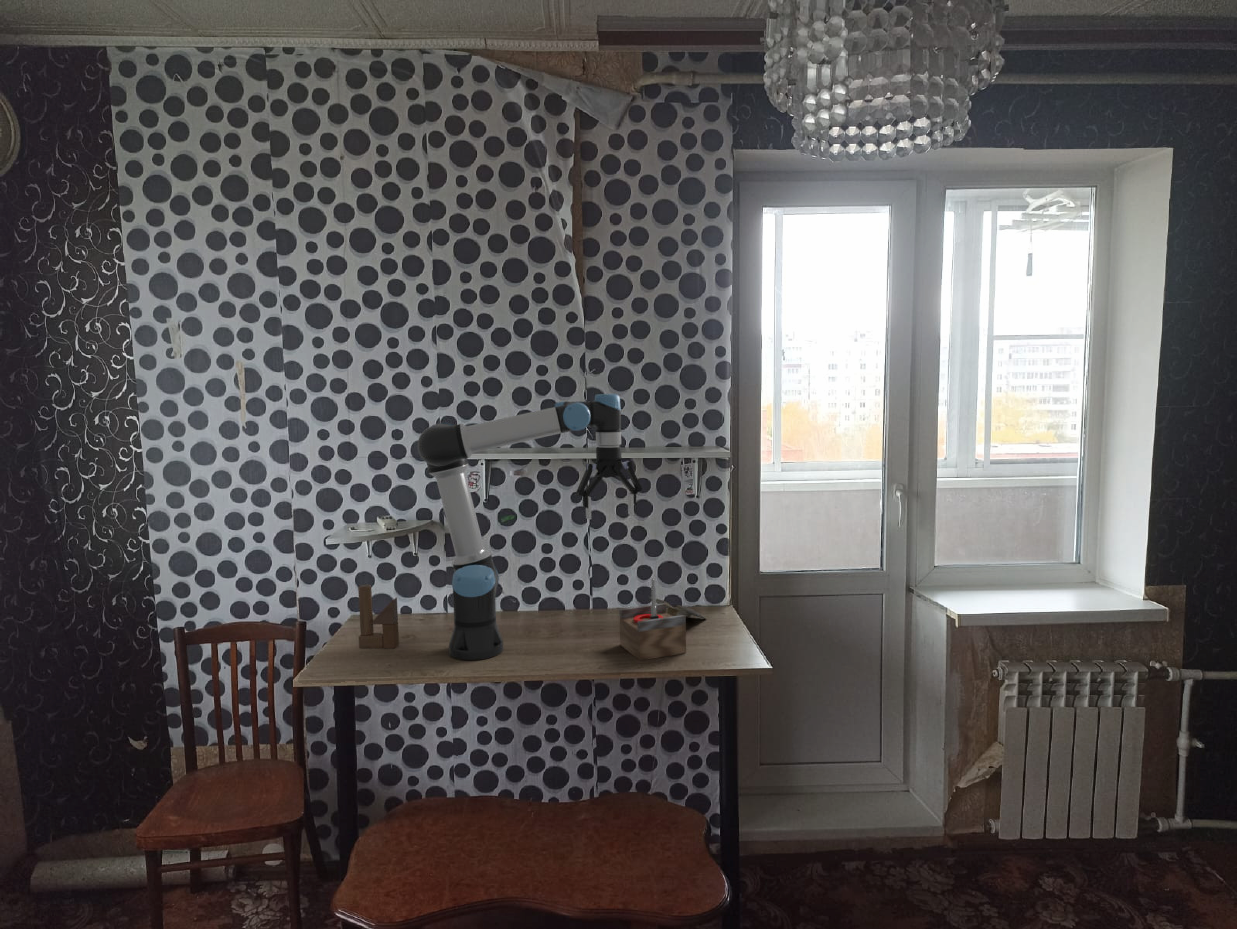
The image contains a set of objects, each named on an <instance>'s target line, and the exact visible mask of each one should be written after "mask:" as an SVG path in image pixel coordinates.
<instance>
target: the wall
mask: <svg viewBox="0 0 1237 929" xmlns="http://www.w3.org/2000/svg"><path fill="white" fill-rule="evenodd" d="M647 597H648V598H649V599H651V596H647ZM661 603H665V604H666V609H667V610H666V613H668V614H669V615H671V616H679V615H685V616H686V618H688V619H691V617H698V618H700V619H704V620H707V618H705V617H704V616H703V615H701V614H700V613H699V612H697V611H696V610H694V609H692V608H690V607H687V606H683V605H680V604H677V605H676V607H673V606H672V605H671V604H670V603H668V602H666V601H665V600H662V599H658V598H656V604H661Z"/></svg>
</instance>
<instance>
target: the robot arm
mask: <svg viewBox="0 0 1237 929" xmlns="http://www.w3.org/2000/svg"><path fill="white" fill-rule="evenodd" d="M621 413H622V408H621V397H620V396H619V394H616V393H609V394H608V393H604V394H603V393H602V394H599V393H598V394H595V396H594V400H591V401H583V400H582V401H581V400H580V401H576V400H575V401H568V400H567V401H566V400H565V401H558V402H555V404H554V407H549V408H544V409H540V410H535V411H530V412H526V413H521V414H516V415H512V416H507V417H503V418H498V419H495V420H489V421H485V422H481V423H477V424H471V425H464V424H463V423H458V424H452V423H447V422H438V423H436V424H435V423H434V424H432V425H431V426H429V427H427V428H426V429H424V430H423V431H422V433H421V434H420V435H419V437H418V440H417V451H418V454H419V456H420V458H421V459H422V460H423V461H424V462H426V467H427V470H428V473H429V475H431V476H432V477H434V478H435V479H436V480H435V481H436V483H437V487H438V491H439V496H440V500H441V502H442V506H443V511H444V515H445V519H446V522H447V526H448V531H449V534H450V538H451V542H452V545H453V546H452V547H453V550H454V554H455V557H454V558H453V560H452V567H453V571H454V573H453V575H452V581H451V587H452V599H453V602H452V603H453V604H452V605H453V623H454V624H453V625H454V626H453V629H452V634H451V638H450V640H449V644H448V655H449V656H450V657H452V658H453V659H456V660H457V659H458V660H462V661H463V660H464V661H465V660H466V661H476V660H477V661H478V660H484V659H485V660H486V659H489V658H493V657H495V656H499V655H500V654H501V653H502V652H503V651H504V640H503V636H502V635H501V633H500V632H501V631H500V629H499V626H498V624H497V608H496V603H497V602H496V594H497V589H498V586H499V582H500V581H499V580H500V578H499V573H498V572H499V571H498V570H497V567H496V566H495V564H494V559H493V556H492V553H491V551H489V550H487V549H486V547H485V546H484V542H483V538H482V535H481V534H482V533H481V530H480V525H479V523H478V517H477V514H476V509H475V505H474V502H473V497H472V494H471V490H470V486H469V483H468V478H467V473H466V470H467V468H468V466H469V460H468V459H470V458H471V456H472V455H473V454H475V453H479V452H484V451H488V450H492V449H497V448H502V447H506V446H510V445H514V444H519V443H524V442H527V441H528V442H529V441H532V440H537V439H541V438H542V439H543V438H545V437H549V436H555V435H559V434H563V433H564V434H565V433H568V432H573V431H576V432H577V431H582V430H585V429H586V428H587V427H588V428H589V427H590V428H592V427H595V445H596V446H597V447H596V448H595V454H596V457H595V458H596V459H595V461H596V463H589V462H587V463H586V464H585V471H584V473H583V476H582V478H581V480H580V483H579V485H578V487H577V490H576V492H575V494H576V495H578V496H580V497H582V507H583V509H585V519H587V520H592V497H591V496H590V494H591V493H592V492H593V491H594V490H595V488H596V487H597V485H598V484H599V482H600V481H601V480H602V479H603V478H605V479H607V478H618V479H619V481H620V482H621V483H622V484H623V485H624V486H625V488H626V489H627V490H628V491H629V492H628V493H627V514H628V516H631V517H632V516H635V509H634V508H635V506H634V505H635V504H637V494H638V493H639V492H642V491H643V488H642V485H641V483H640V481H639V479H638V477H637V475H636V473H635V472H634V469H633V463H632V461H630V460H625V461H624V462H622V447H621V445H622V429H621V428H622V421H621V420H622V416H621V415H622V414H621ZM623 468H624V469H625V470H626V473H627V474H628V476H629V479H630V481H631V482H630V481H629V480H628V479H627V478H626V476H625V475H624V473H623V472H622V471H621V470H622V469H623ZM594 470H596V471H597V472H596V473H595V474H594V477H593V478H592V480H591V481H590V482H589V480H590V478H591V476H592V472H593V471H594ZM588 482H589V483H588ZM631 483H632V484H631Z"/></svg>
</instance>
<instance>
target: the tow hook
mask: <svg viewBox="0 0 1237 929" xmlns="http://www.w3.org/2000/svg"><path fill="white" fill-rule="evenodd" d="M655 581H656V580H655V578H651V586H650V587H651V588H650V589H651V590H650V591H651V592H650V593H651V596H650V597H651V598H650V599H651V605H652V606H651V614H642V615H637V616H635V617H634V618H633V620H634V622H636V623H637V621H643V620H641V619H642V618H650V620H651V619H658V618H664V617H663V616H661V615H657V607H656V604H657V603H656V599H657V597H656V596H657V595H656V593H657V592H656V584H655V583H656V582H655Z"/></svg>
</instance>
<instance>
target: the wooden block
mask: <svg viewBox="0 0 1237 929" xmlns="http://www.w3.org/2000/svg"><path fill="white" fill-rule="evenodd" d="M357 590H358V591H357V592H358V609H359V624H360V625H359V626H360V628H359V629H360V635H358V647H359V649H396V648H397V647H399V645H400V636H399V633H400V632H399V615H398V614H399V613H398V612H399V611H398V597H395V598H394V599H392V600H391V601H390V602H389V603H388V604H387V605H386V606H385V607H384V609H382V610H381V612H380V613H378V615H377V616H376V617H375V618H374V615H373V614H374V613H373V596H372V595H373V593H372V585H371V584H361V585H359V586H358V587H357ZM374 625H381V626H382V632H374Z"/></svg>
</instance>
